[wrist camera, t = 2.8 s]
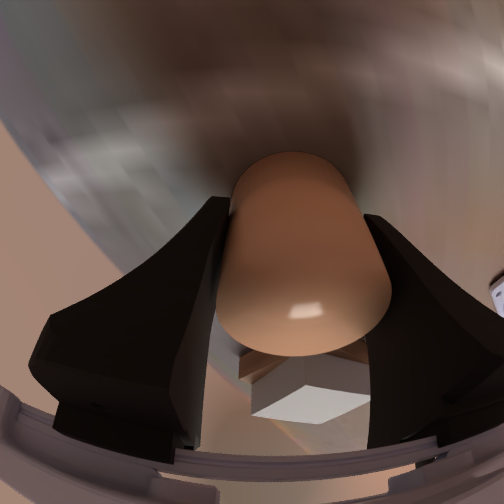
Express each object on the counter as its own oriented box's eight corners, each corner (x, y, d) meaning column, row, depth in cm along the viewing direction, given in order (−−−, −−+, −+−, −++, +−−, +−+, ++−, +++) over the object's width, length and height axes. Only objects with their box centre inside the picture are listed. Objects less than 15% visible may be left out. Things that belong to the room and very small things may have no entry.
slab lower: (373, 342, 19) (380, 369, 17) (304, 376, 22) (306, 401, 20) (315, 304, 16) (319, 338, 14) (240, 350, 19) (238, 379, 18)
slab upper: (371, 365, 17) (378, 396, 15) (317, 397, 20) (319, 424, 18) (302, 347, 15) (305, 384, 13) (251, 384, 18) (251, 415, 16)
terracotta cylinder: (372, 205, 11) (418, 302, 7) (291, 268, 13) (299, 369, 10) (290, 125, 9) (313, 201, 5) (207, 211, 12) (182, 315, 8)
